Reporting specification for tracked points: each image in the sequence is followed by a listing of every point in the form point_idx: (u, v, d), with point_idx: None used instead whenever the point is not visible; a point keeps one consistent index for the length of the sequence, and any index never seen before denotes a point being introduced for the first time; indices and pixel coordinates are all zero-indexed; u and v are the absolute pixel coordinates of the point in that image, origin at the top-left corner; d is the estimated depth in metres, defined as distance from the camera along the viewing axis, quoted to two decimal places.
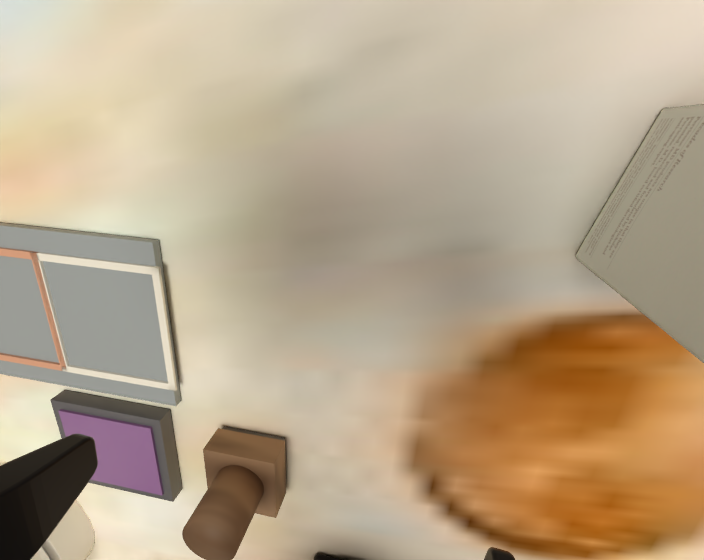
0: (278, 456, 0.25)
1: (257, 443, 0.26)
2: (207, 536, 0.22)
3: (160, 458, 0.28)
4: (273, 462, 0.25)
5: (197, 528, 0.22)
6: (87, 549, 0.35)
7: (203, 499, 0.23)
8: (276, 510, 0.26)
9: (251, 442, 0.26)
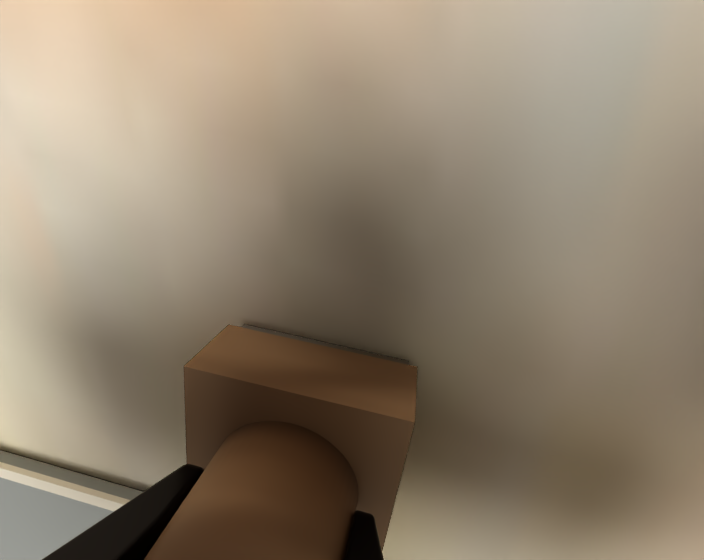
0: (208, 350, 0.09)
1: None
2: None
3: None
4: (185, 367, 0.08)
5: None
6: None
7: None
8: (389, 411, 0.08)
9: None
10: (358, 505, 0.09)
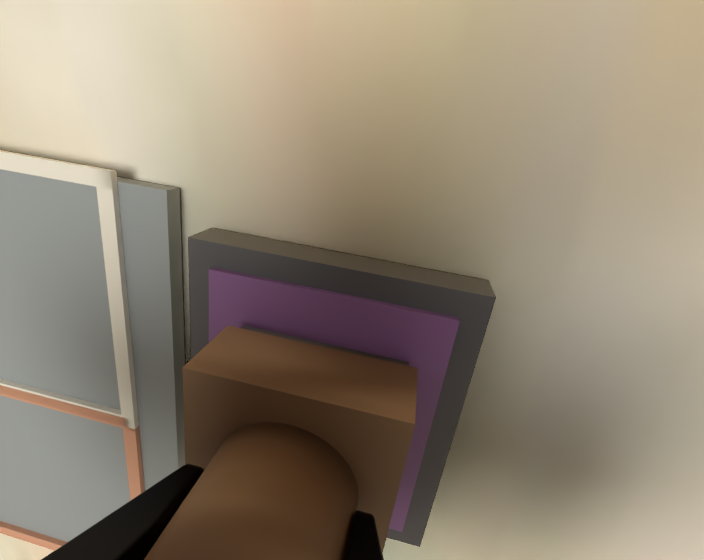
0: (207, 351, 0.09)
1: None
2: None
3: (320, 281, 0.10)
4: (184, 368, 0.08)
5: None
6: None
7: None
8: (389, 413, 0.08)
9: None
10: (358, 507, 0.09)
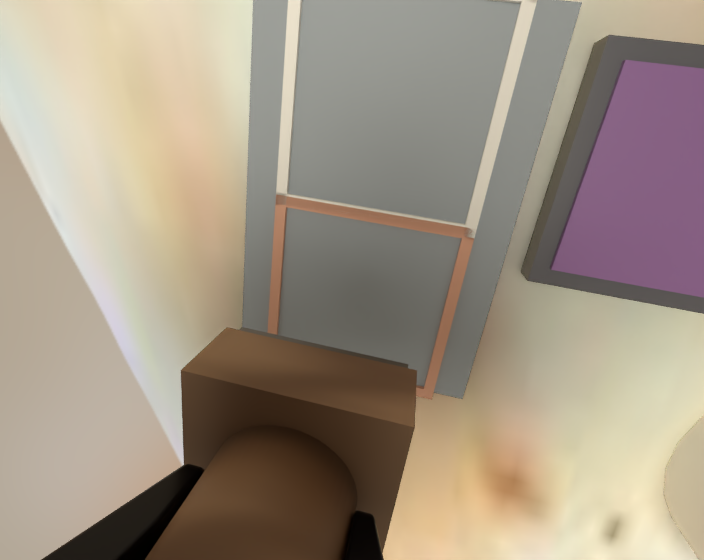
0: (206, 353, 0.09)
1: None
2: None
3: None
4: (183, 371, 0.08)
5: None
6: None
7: None
8: (388, 416, 0.08)
9: None
10: None
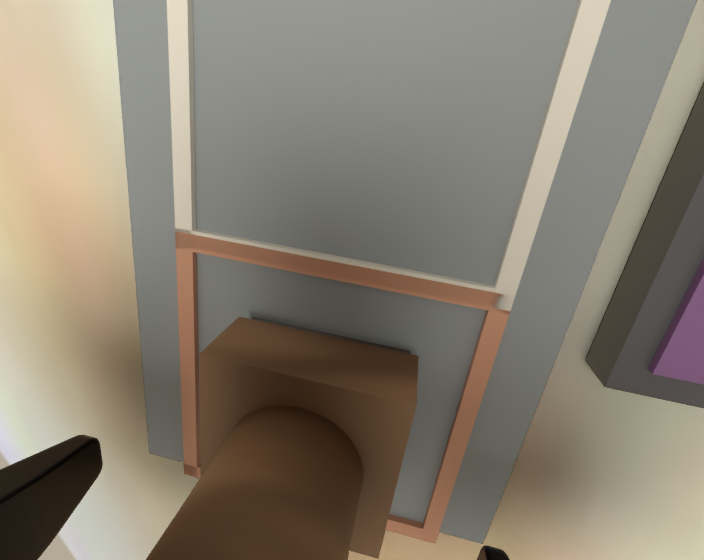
0: (221, 339, 0.09)
1: None
2: None
3: None
4: (200, 355, 0.09)
5: None
6: None
7: None
8: (392, 395, 0.08)
9: None
10: (363, 485, 0.09)
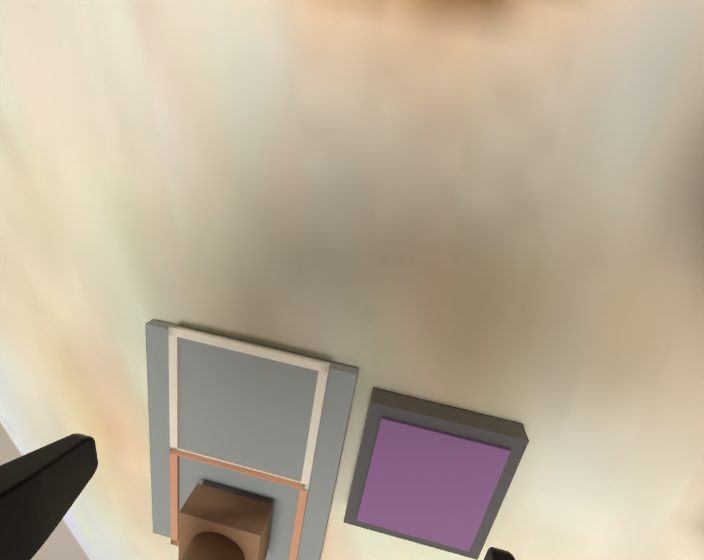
0: (188, 501, 0.23)
1: None
2: None
3: (439, 426, 0.19)
4: (179, 511, 0.22)
5: None
6: None
7: None
8: (252, 531, 0.22)
9: None
10: None
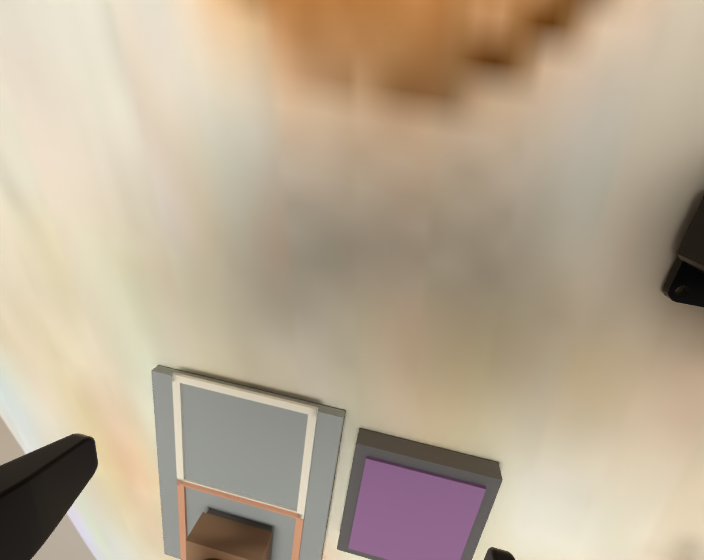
0: (194, 529, 0.25)
1: None
2: None
3: (420, 466, 0.21)
4: (186, 540, 0.24)
5: None
6: None
7: None
8: (252, 558, 0.24)
9: None
10: None
